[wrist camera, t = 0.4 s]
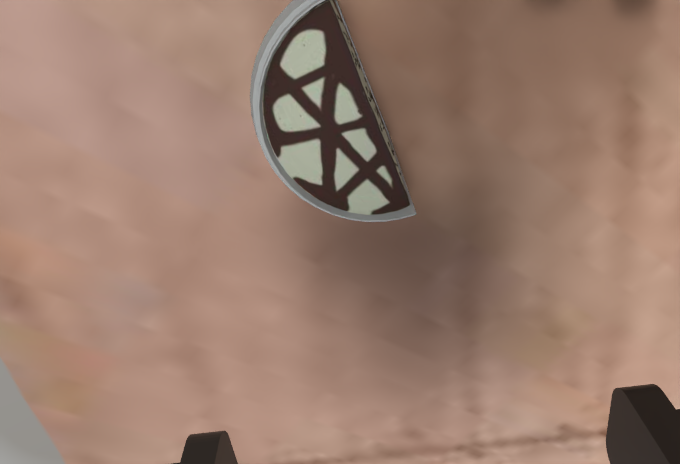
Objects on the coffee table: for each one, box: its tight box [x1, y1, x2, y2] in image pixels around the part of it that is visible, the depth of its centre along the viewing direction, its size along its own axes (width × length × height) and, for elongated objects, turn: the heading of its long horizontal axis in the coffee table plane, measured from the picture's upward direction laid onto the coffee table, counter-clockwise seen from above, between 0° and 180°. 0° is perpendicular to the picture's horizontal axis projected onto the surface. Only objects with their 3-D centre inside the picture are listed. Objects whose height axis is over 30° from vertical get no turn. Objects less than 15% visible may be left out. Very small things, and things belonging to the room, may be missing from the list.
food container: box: [250, 0, 416, 222], centre depth 31 cm, size 12×6×10 cm, turn 23°
